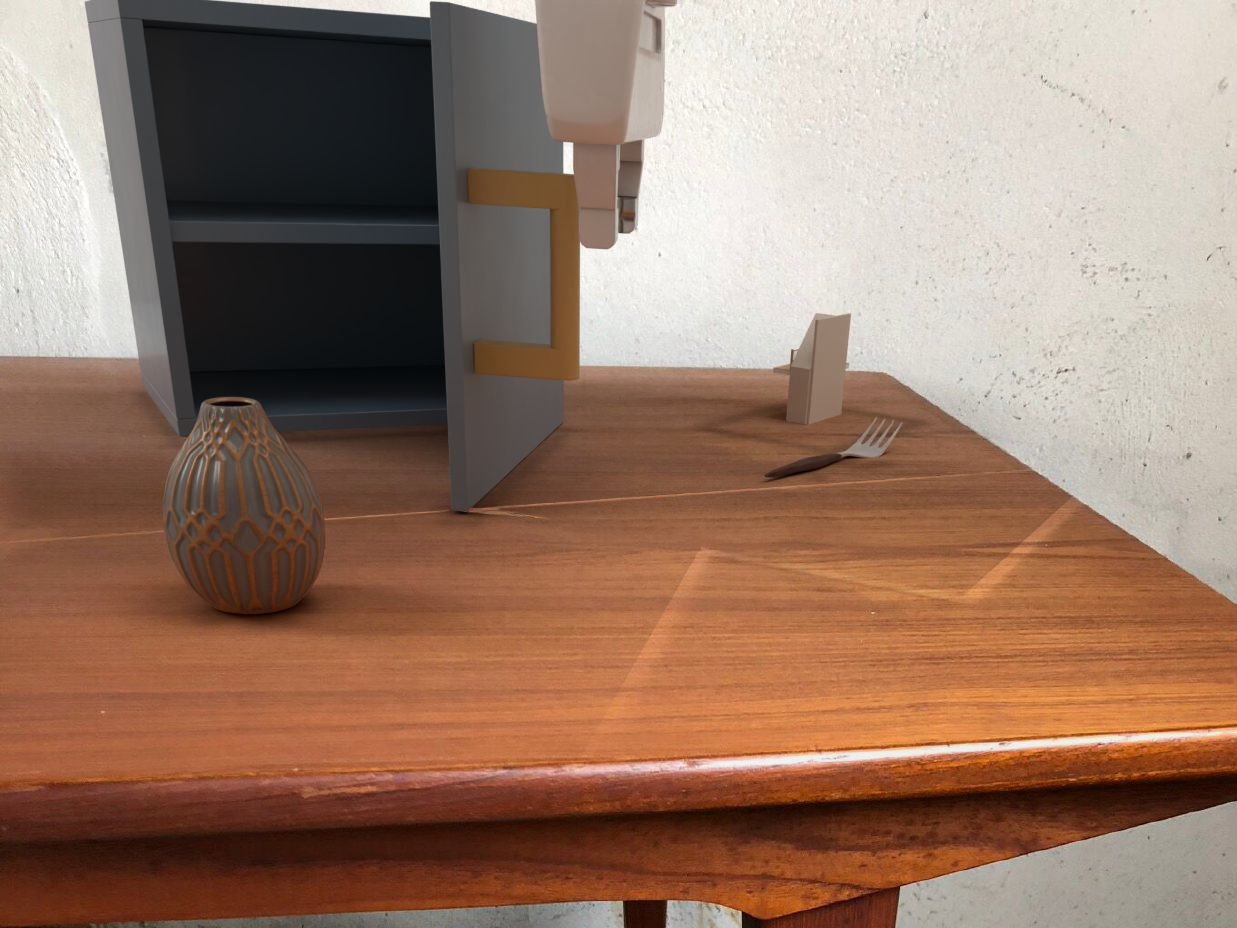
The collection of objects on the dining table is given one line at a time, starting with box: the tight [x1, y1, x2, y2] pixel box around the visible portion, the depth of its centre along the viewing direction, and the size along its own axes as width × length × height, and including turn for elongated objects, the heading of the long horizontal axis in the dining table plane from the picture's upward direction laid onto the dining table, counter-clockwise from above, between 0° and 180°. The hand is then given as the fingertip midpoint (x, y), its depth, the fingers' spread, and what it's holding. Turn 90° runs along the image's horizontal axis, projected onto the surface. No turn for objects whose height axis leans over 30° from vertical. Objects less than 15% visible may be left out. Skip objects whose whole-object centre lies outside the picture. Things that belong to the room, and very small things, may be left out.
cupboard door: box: [429, 0, 581, 512], centre depth 83 cm, size 7×26×24 cm, turn 173°
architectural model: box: [772, 312, 852, 425], centre depth 105 cm, size 3×7×7 cm, turn 148°
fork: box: [764, 416, 904, 478], centre depth 93 cm, size 3×16×2 cm, turn 144°
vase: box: [162, 397, 326, 615], centre depth 61 cm, size 7×7×9 cm
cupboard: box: [84, 0, 448, 438], centre depth 96 cm, size 18×26×24 cm
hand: (610, 239), depth 73 cm, fingers open, 8 cm apart
